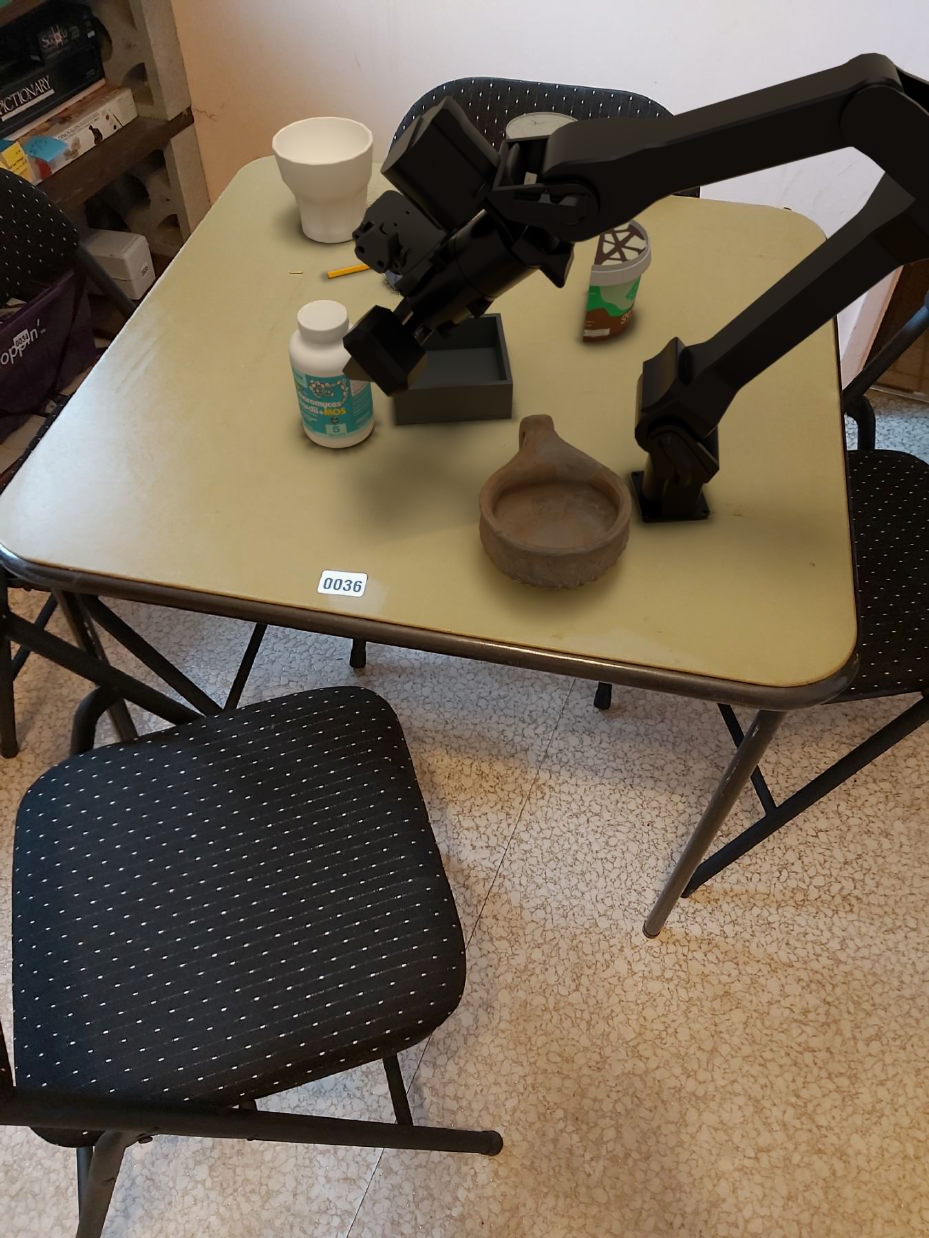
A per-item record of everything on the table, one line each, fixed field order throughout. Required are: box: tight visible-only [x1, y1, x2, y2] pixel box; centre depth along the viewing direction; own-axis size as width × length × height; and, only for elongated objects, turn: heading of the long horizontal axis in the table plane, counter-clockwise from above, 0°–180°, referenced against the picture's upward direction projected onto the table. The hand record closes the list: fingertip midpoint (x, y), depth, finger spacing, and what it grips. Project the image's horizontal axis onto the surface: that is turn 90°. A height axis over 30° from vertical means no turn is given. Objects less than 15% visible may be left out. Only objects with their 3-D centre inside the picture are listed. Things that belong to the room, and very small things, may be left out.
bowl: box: [478, 413, 633, 591], centre depth 75 cm, size 18×14×10 cm
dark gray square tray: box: [393, 312, 514, 426], centre depth 90 cm, size 12×12×4 cm
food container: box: [582, 218, 652, 343], centre depth 95 cm, size 12×6×10 cm, turn 168°
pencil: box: [326, 263, 372, 280], centre depth 106 cm, size 1×18×1 cm, turn 113°
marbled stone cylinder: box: [505, 111, 579, 185], centre depth 106 cm, size 10×10×12 cm
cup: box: [271, 116, 374, 244], centre depth 107 cm, size 12×12×11 cm
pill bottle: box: [288, 299, 375, 449], centre depth 82 cm, size 8×7×14 cm
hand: (371, 345), depth 77 cm, fingers open, 9 cm apart
